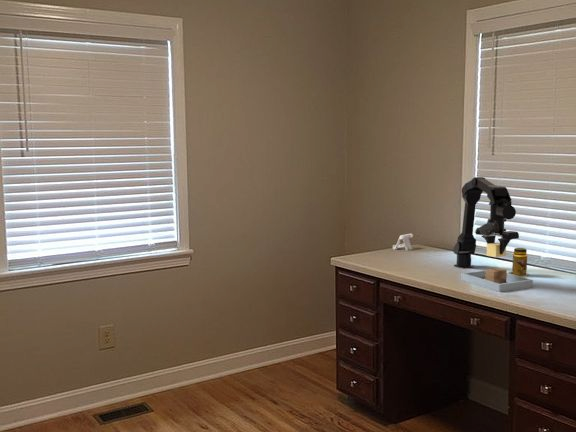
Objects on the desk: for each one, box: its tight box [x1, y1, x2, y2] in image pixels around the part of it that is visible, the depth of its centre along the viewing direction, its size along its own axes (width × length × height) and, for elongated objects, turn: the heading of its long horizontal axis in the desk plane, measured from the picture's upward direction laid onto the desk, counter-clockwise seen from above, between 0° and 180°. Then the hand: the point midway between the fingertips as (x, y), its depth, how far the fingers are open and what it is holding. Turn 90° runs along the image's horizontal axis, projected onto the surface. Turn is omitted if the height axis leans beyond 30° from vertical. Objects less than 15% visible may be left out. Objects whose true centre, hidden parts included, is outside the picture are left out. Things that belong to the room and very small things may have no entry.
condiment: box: [507, 247, 529, 278], centre depth 291 cm, size 7×8×12 cm
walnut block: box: [484, 267, 508, 284], centre depth 276 cm, size 7×5×6 cm
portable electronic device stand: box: [392, 233, 414, 252], centre depth 353 cm, size 9×8×8 cm
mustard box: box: [486, 242, 507, 258], centre depth 276 cm, size 6×5×5 cm
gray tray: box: [460, 269, 534, 293], centre depth 276 cm, size 23×18×3 cm
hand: (496, 253), depth 276 cm, fingers closed on mustard box, 5 cm apart
